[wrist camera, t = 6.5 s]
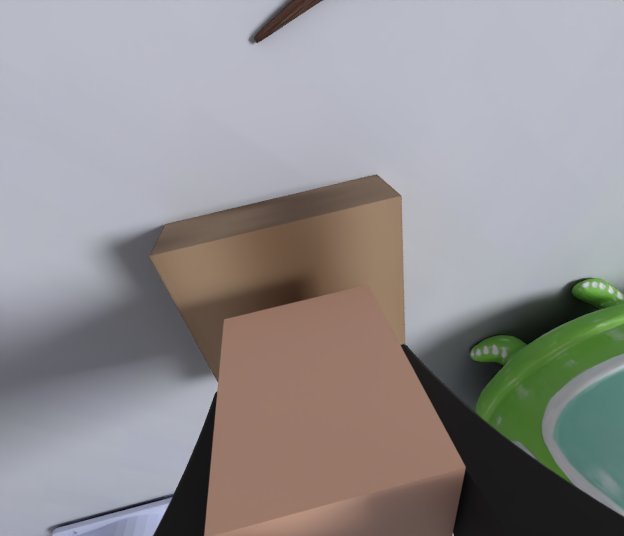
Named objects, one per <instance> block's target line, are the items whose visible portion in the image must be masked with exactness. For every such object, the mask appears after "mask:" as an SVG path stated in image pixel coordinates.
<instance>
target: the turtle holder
mask: <svg viewBox="0 0 624 536" xmlns="http://www.w3.org/2000/svg"><path fill="white" fill-rule="evenodd" d="M572 294H573V295H574V296H575V297H576V298H578V299H580V300H582V301H584V302H586V303H589V304H591V305H593V306H595V307H597V308H599V309H600V310H598V311H595V312H592V313H589V314H586V315H583V316H581V317H579V318H576V319H574V320H571V321H569V322H567V323H564V324H562V325H560V326H558V327H556V328H555V329H553V330H551V331H549V332H547V333H545V334H544V335H542V336H540V337H539V338H537V339H536V340H534V341H532V342H531V343H530V344H528V345H527V344H526V343H524V342H523V341H521V340H520V339H518V338H516V337H514V336H509V335H497V336H493V337H490V338H487V339H485V340H483V341H482V342H480V343H478V344H477V345H475V346H474V347H473V348H472V350H471V352H470V357H471V358H472V359H473V360H475V361H478V362H497V363H500V364H501V365H503V366H504V367H503V368H502V369H501V370H500V371H499V372H498V373H497V374H496V375H495V376H494V377H493V379H492V380H491V381H490V382H489V383H488V384H487V386H486V387H485V388H484V389H483V391H482V392H481V394H480V396H479V398H478V401H477V403H476V408H475V412H476V413H477V414H478V415H479V416H480V417H481V418H483V419H484V420H485V421H486V422H487V423H489V424H490V425H491V426H492V427H494V428H495V429H496V430H497V431H499V432H500V433H501V434H502V435H504V436H505V437H506V438H508V439H509V440H510V441H512V442H513V443H514V444H516V445H517V446H518V447H520V448H521V449H522V450H524V451H525V452H526V453H528V454H529V455H531V456H532V457H533V458H535V459H536V460H538V461H539V462H540V463H542V464H543V465H545V466H546V467H547V468H549V469H550V470H552V471H554V472H555V473H557V474H558V475H560V476H561V477H563V478H564V479H566V480H567V481H569V482H570V483H572V484H573V485H575V486H576V487H578V488H579V489H581V490H582V491H584V492H585V493H587V494H588V495H590V496H591V497H593V498H595V499H596V500H598V501H599V502H601V503H603V504H604V505H606V506H608V507H609V508H611V509H612V510H614V511H616V512H617V513H619V514H621V515H622V516H624V294H622V293H621V292H620V291H618V290H617V289H616V288H615V287H613V286H612V285H610V284H609V283H607V282H605V281H603V280H601V279H596V278H592V279H587V280H584V281H581V282H579V283H578V284H576V285H575V286H574V287H573V289H572Z"/></svg>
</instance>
